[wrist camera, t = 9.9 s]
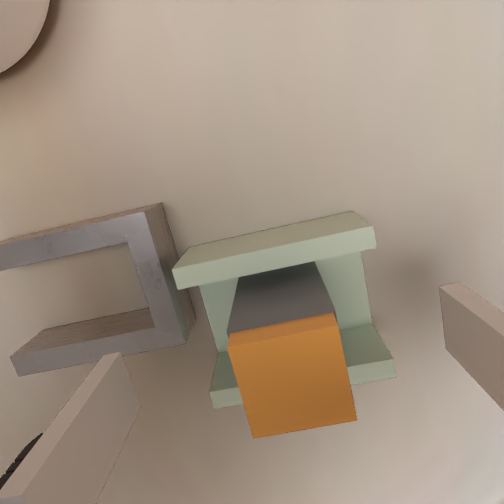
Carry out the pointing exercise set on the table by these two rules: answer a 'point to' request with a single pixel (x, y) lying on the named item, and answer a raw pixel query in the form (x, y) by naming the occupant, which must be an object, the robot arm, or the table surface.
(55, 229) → the clip
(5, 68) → the cup
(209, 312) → the end holder
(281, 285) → the orange tall block
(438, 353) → the table surface
